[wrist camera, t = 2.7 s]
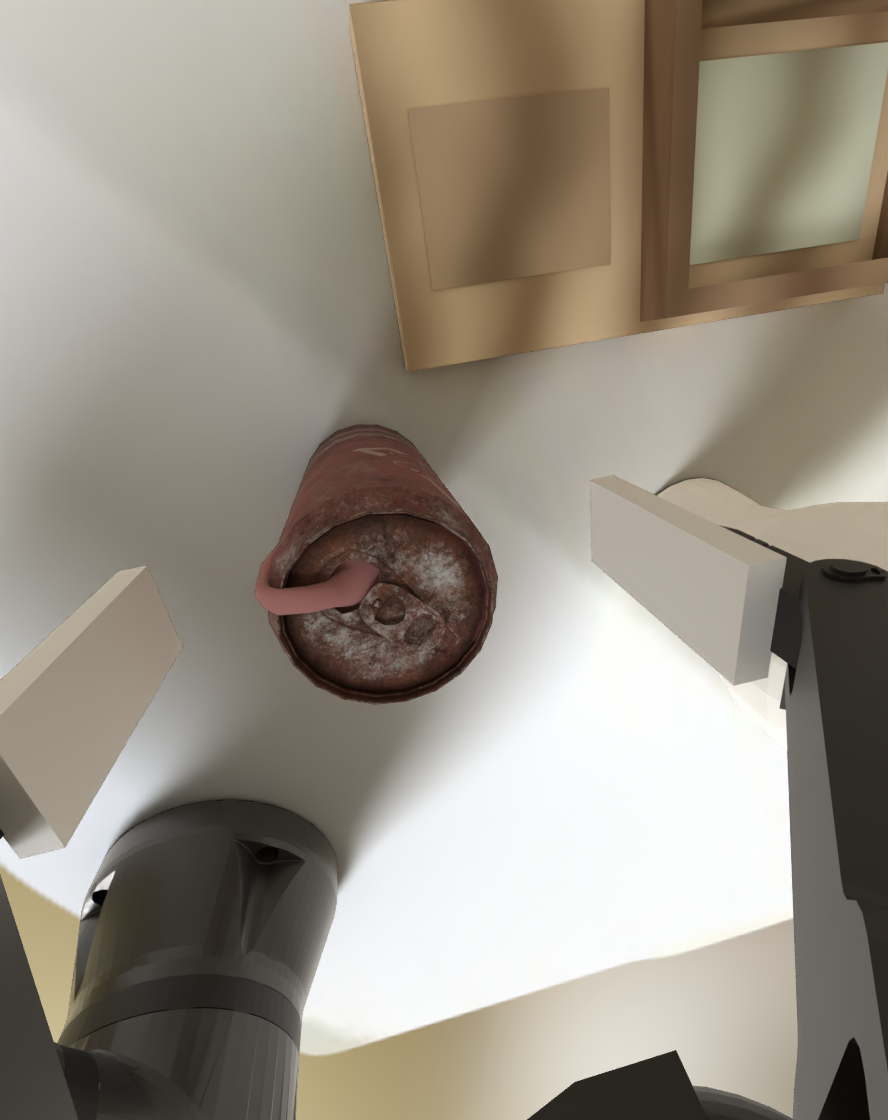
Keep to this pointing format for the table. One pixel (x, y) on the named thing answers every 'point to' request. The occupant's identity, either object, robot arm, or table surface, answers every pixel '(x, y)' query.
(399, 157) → the holder board
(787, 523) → the cup
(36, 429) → the table surface
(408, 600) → the can
